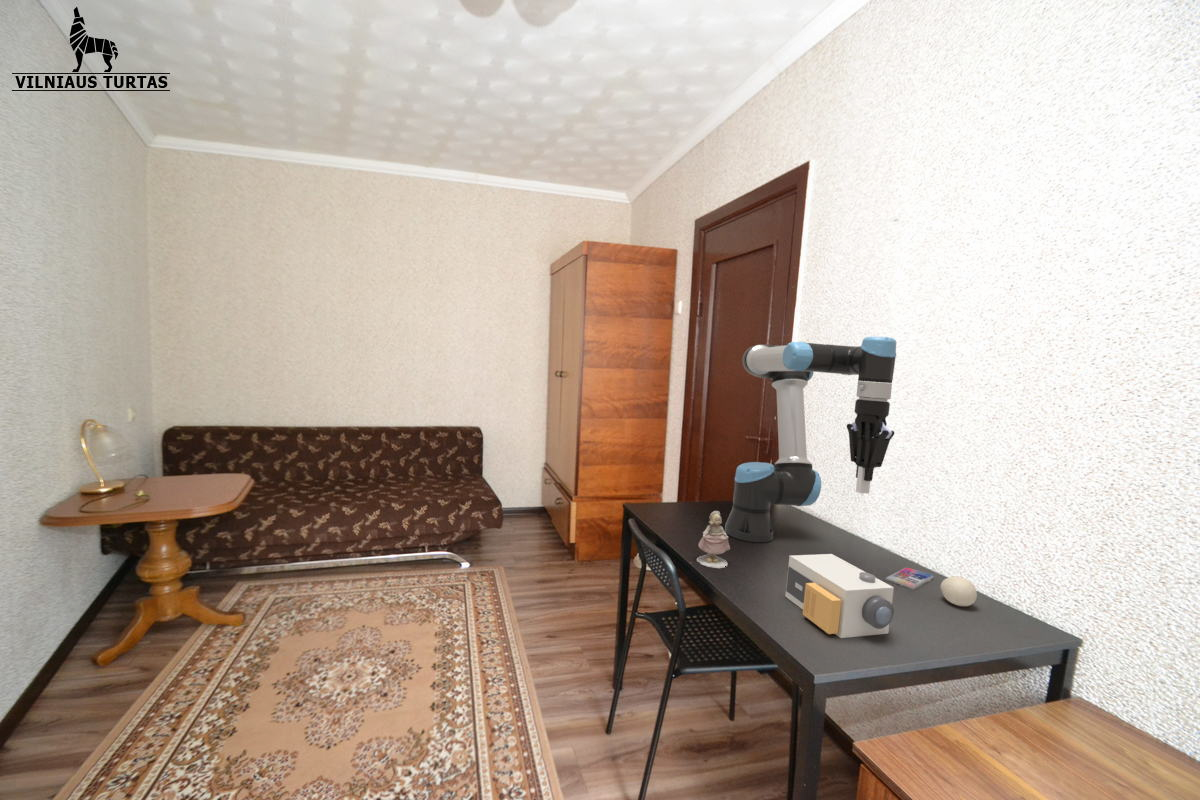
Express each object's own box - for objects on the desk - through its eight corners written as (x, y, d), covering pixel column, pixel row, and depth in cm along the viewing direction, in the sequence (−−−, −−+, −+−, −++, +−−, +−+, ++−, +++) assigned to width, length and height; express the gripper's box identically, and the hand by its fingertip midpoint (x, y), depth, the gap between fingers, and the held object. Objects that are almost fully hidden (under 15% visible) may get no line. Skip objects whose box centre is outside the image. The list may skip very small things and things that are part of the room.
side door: (802, 614, 108) (805, 583, 107) (811, 613, 108) (814, 582, 108) (828, 634, 100) (832, 600, 100) (837, 633, 101) (841, 600, 100)
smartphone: (883, 577, 132) (905, 566, 142) (883, 581, 132) (905, 569, 142) (914, 588, 127) (935, 575, 136) (913, 591, 127) (935, 579, 136)
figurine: (708, 571, 127) (701, 512, 131) (684, 569, 136) (678, 513, 139) (739, 566, 133) (732, 509, 136) (714, 563, 141) (708, 510, 144)
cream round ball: (950, 595, 125) (953, 570, 125) (981, 609, 118) (984, 582, 118) (931, 598, 123) (935, 572, 122) (962, 612, 116) (965, 585, 115)
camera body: (784, 596, 118) (789, 551, 117) (827, 593, 121) (832, 549, 120) (849, 645, 98) (855, 591, 97) (898, 640, 101) (905, 588, 100)
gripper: (841, 396, 128) (831, 485, 130) (882, 401, 116) (870, 499, 118) (864, 398, 130) (854, 485, 132) (907, 402, 118) (895, 499, 120)
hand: (862, 492), depth 125 cm, fingers closed
